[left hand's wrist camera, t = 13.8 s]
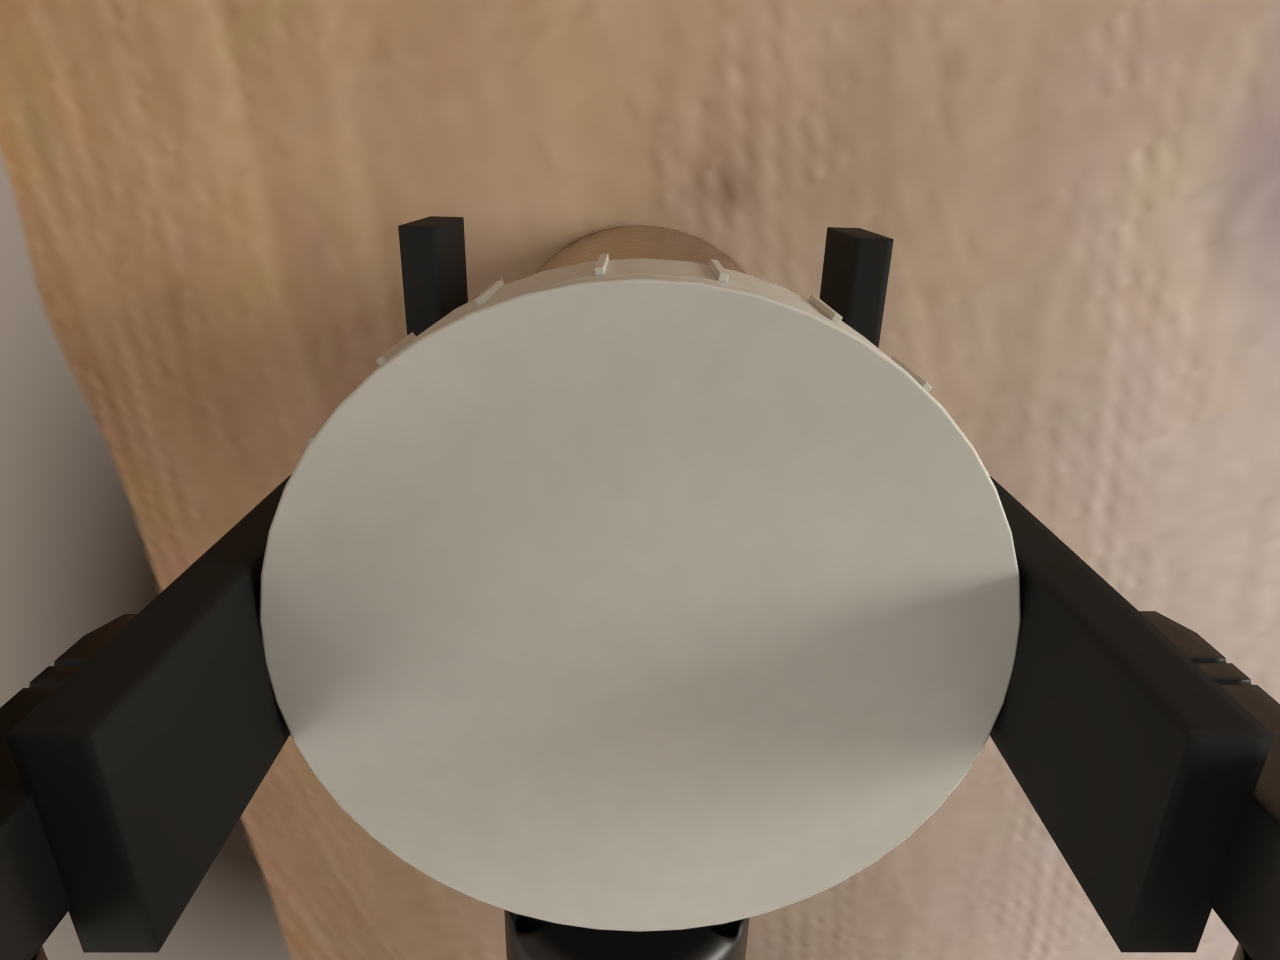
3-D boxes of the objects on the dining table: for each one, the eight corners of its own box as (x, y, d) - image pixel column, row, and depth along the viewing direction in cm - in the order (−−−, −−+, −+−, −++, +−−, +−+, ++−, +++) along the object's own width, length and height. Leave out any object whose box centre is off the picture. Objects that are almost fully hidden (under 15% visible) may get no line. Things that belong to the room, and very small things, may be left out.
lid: (171, 478, 12) (83, 538, 10) (793, 98, 10) (828, 86, 8) (539, 909, 15) (525, 1015, 13) (1060, 685, 13) (1128, 772, 11)
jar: (448, 318, 24) (187, 539, 10) (696, 168, 23) (785, 186, 9) (593, 537, 27) (543, 948, 13) (823, 417, 25) (1047, 737, 11)
